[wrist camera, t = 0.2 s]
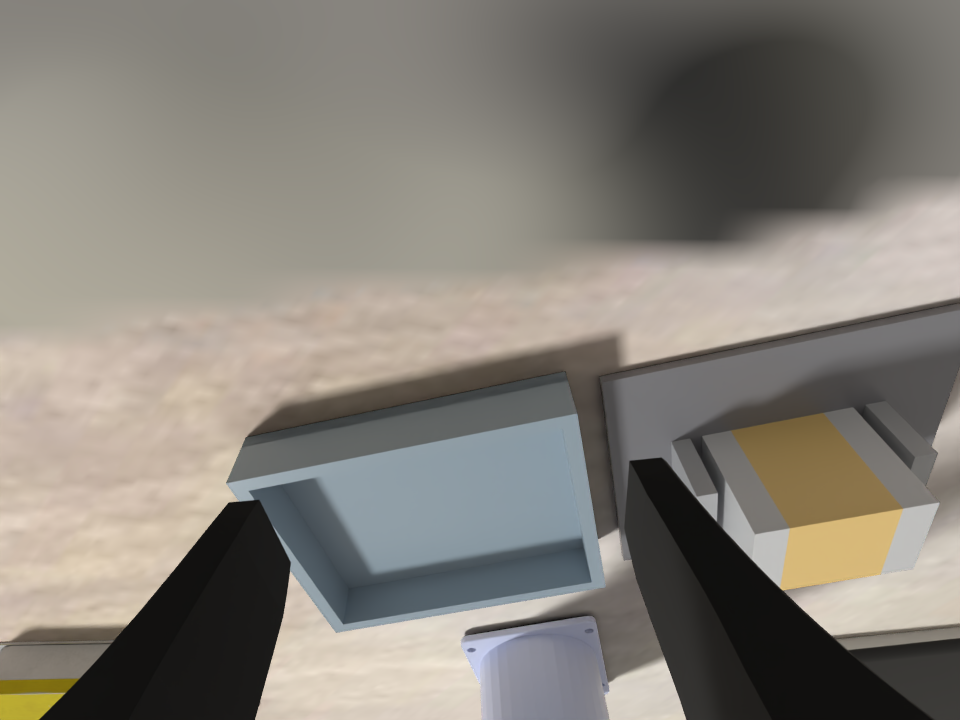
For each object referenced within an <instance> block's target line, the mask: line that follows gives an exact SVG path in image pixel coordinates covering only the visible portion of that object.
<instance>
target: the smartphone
mask: <svg viewBox="0 0 960 720" xmlns="http://www.w3.org/2000/svg"><path fill="white" fill-rule="evenodd" d="M836 640H837V641H838V642H839V643H840V644H841V645H843V646H844V647H845V648H846V649H847V650H848V651H849V652H851V653H852V654H853V655H854V656H855V657H857V658H858V659H859V660H860V661H861V662H863V663H864V664H865V665H866V666H867V667H869V668H870V669H871V670H872V671H873V672H875V673H876V674H877V675H878V676H879V677H881V678H882V679H883V680H884V681H886V682H887V683H888V684H889V685H890V686H892V687H893V688H894V689H896V690H897V691H898V692H900V693H901V694H902V695H903V696H905V697H906V698H907V699H909V700H910V701H911V702H913V703H914V704H915V705H916V706H918V707H919V708H920V709H922V710H923V711H924V712H926V713H927V714H928V715H930V716H931V717H932V718H933V719H935V720H960V627H952V628H942V629H932V630H921V631H912V632H902V633H892V634H882V635H872V636H862V637H852V638H842V639H836Z"/></svg>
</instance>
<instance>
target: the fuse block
mask: <svg viewBox="0 0 960 720" xmlns="http://www.w3.org/2000/svg"><path fill="white" fill-rule="evenodd" d="M959 367H960V303H957V304H952V305H947V306H942V307H938V308H933V309H928V310H923V311H918V312H913V313H908V314H903V315H898V316H893V317H889V318H884V319H879V320H874V321H869V322H864V323H859V324H854V325H849V326H845V327H840V328H835V329H830V330H825V331H820V332H815V333H810V334H805V335H801V336H796V337H791V338H786V339H781V340H776V341H771V342H766V343H761V344H757V345H752V346H747V347H742V348H737V349H732V350H727V351H722V352H717V353H713V354H708V355H703V356H698V357H693V358H688V359H683V360H678V361H673V362H669V363H664V364H659V365H654V366H649V367H644V368H639V369H634V370H629V371H624V372H620V373H615V374H610V375H605V376H600V383H601V391H602V399H603V407H604V415H605V423H606V431H607V439H608V447H609V455H610V463H611V471H612V479H613V487H614V495H615V503H616V510H617V518H618V526H619V534H620V542H621V550H622V556H623V559H624V561H625V560H631V555H630V551H629V547H628V543H627V539H626V534H625V530H624V523H625V511H626V498H627V485H628V472H629V461H631V460H641V459H650V458H660V457H662V458H663V459H664V460H665V461H667V463H668V464H669V465H670V466H671V468H672V469H673V470H674V472H675V473H676V474H677V475H678V477H679V478H680V479H681V480H682V482H683V483H684V484H685V485H686V486H687V488H688V489H689V490H690V491H691V492H692V494H693V495H694V496H695V497H696V498H697V500H698V501H699V502H700V503H701V504H702V505H703V507H704V508H705V509H706V510H707V511H708V512H709V514H710V515H711V516H712V517H713V518H714V519H715V520H716V522H717V505H718V492H717V490H716V488H715V486H714V484H713V482H712V480H711V478H710V476H709V474H708V472H707V470H706V468H705V467H704V465H703V463H702V436H705V435H710V434H715V433H721V432H726V431H731V430H736V429H741V428H747V427H752V426H757V425H762V424H768V423H773V422H778V421H783V420H789V419H794V418H799V417H804V416H809V415H815V414H820V413H825V412H830V411H836V410H841V409H846V408H851V407H853V408H854V409H855V410H856V411H857V412H858V413H859V414H860V415H861V416H862V418H863V419H864V420H865V421H866V422H867V423H868V424H869V425H870V426H871V427H872V428H873V430H874V431H875V432H876V433H877V434H878V435H879V436H880V437H881V438H882V439H883V440H884V442H885V443H886V444H887V445H888V446H889V447H890V448H891V449H892V450H893V451H894V453H895V454H896V455H897V456H898V457H899V458H900V459H901V460H902V461H903V462H904V463H905V465H906V466H907V467H908V468H909V469H910V470H911V471H912V472H913V473H914V474H915V475H916V477H917V478H918V479H919V480H920V481H921V482H922V483H923V484H924V485H925V486H926V484H927V481H928V479H929V476H930V473H931V471H932V468H933V465H934V462H935V460H936V457H937V454H938V453H937V452H936V451H935V450H934V449H933V448H932V447H931V446H932V443H933V440H934V437H935V435H936V432H937V429H938V426H939V423H940V421H941V418H942V415H943V412H944V409H945V407H946V404H947V401H948V398H949V395H950V392H951V390H952V387H953V384H954V381H955V378H956V376H957V373H958V370H959Z"/></svg>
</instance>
